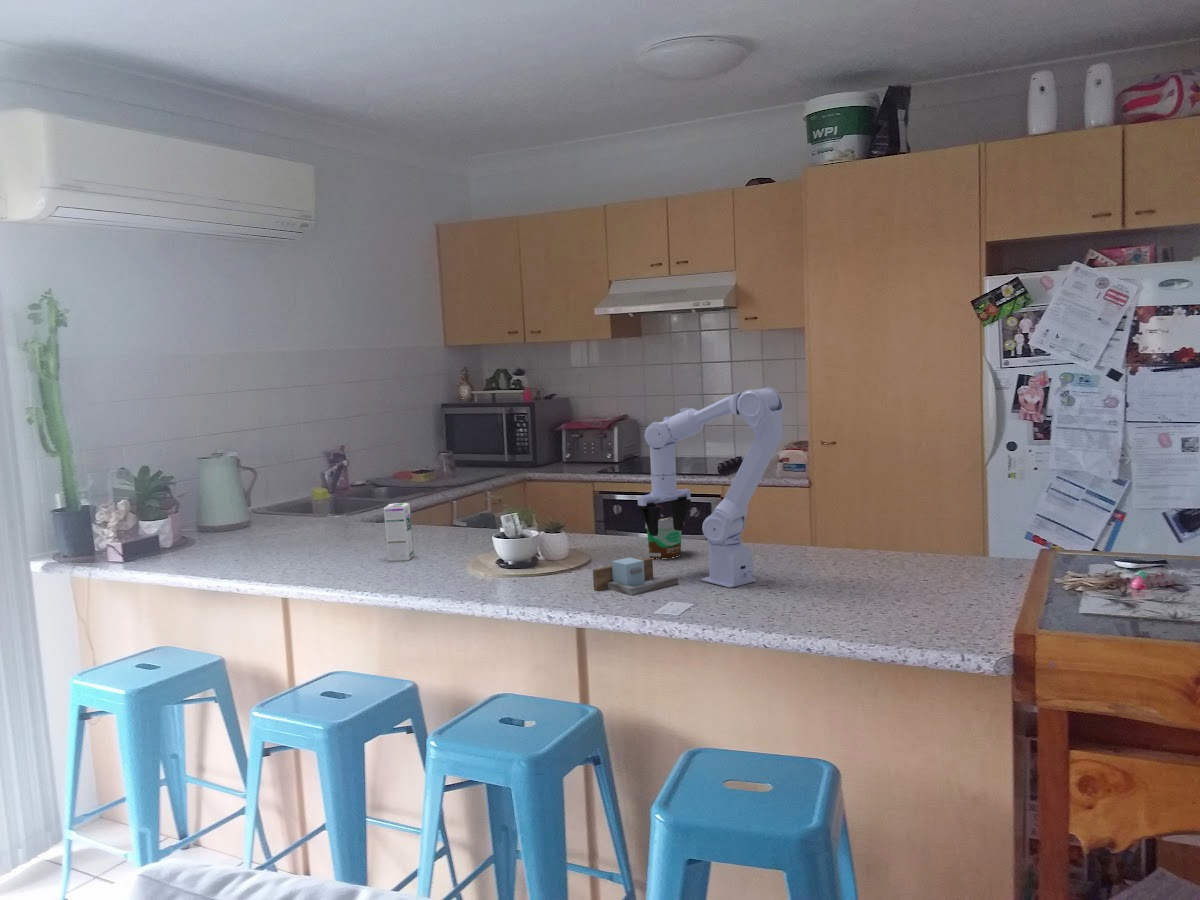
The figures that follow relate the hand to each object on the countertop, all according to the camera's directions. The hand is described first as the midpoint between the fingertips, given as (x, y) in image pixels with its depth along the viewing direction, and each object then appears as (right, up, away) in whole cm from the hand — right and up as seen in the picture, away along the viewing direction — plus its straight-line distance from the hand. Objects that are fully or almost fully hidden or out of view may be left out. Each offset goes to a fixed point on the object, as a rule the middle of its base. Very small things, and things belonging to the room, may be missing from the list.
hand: (666, 532), depth 218 cm
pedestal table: (-7, -11, -8) cm, 16 cm away
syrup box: (-68, -10, +33) cm, 76 cm away
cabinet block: (-9, -11, -9) cm, 17 cm away
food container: (+3, -8, +20) cm, 22 cm away
